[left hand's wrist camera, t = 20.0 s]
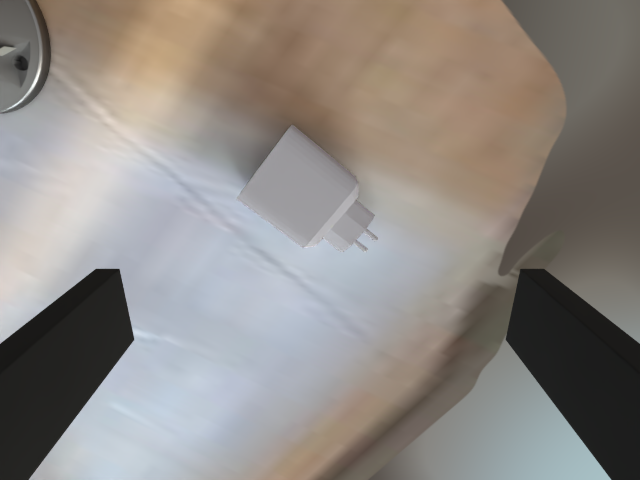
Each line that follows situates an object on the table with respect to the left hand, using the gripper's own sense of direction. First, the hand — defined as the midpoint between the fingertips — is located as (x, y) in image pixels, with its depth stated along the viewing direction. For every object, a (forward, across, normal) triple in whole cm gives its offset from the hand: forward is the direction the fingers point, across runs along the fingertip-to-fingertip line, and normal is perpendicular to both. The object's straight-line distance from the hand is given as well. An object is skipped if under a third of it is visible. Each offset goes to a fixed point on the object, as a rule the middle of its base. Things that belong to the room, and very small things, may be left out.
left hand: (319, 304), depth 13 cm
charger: (+31, 0, -5) cm, 32 cm away
